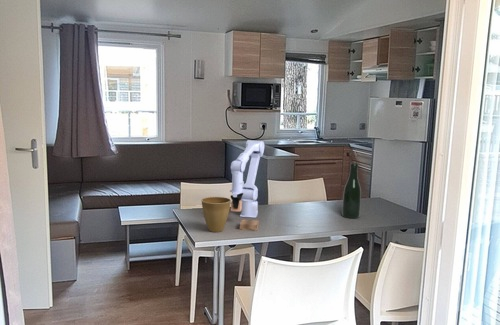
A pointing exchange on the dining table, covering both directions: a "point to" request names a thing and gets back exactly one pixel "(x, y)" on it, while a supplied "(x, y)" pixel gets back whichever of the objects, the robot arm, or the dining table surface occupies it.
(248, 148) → the robot arm
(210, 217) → the plant pot
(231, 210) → the terracotta cube
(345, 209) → the green glass bottle
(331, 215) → the dining table surface
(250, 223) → the tan square slab
